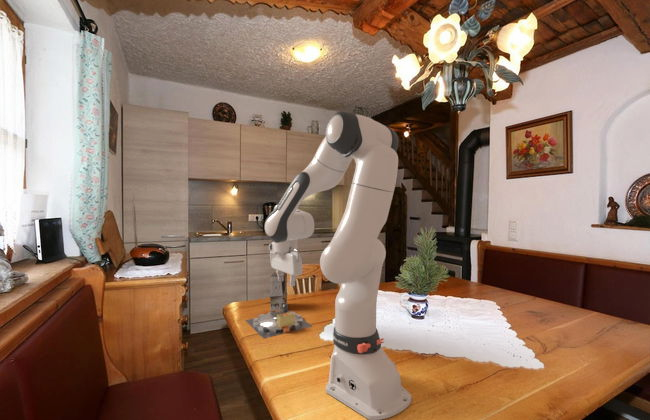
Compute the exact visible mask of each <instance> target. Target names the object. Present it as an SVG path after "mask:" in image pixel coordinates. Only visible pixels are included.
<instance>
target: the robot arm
mask: <svg viewBox="0 0 650 420" xmlns="http://www.w3.org/2000/svg"><path fill="white" fill-rule="evenodd" d="M399 144H400V143H399V136H398V133H397V132H396V131H395V130H394V129H393V128H391V127H389V126H388V125H384V124H382V123H380V122H379V121H376V120H374V119H373V118H371V117H368V116H364V115H361V114H357V113H354V112H352V111H346V110H343V111H342V110H339V111H337V112H335V113H334V114H333V115H332V116H331V117H330V118H329V120H328V121H327V124H326V127H325V137H324V138H323V139H322V141H321V142H320V144H319V145H318V148H317V149H316V152H315V154H314V156H313V158H312V160H311V161H310V162H309V164H308V165H307V166H306V167H305V168H304V169H303V170H302V171H301V172H300V173H298V174H297V175H296V176H295V177H294V178H293V180H291V183H290V184H289V185H288V187H287V189H286V191H285V192H284V194H283V196H282V197H281V198H280V201H279V202H278V203H277V204H276V205H275V206H274V208H273V210H272V211H271V212H270V213H269V214H268V216H267V217H266V219H265V221H264V224H263V226H264V227H263V229H264V234H265V235H266V236H267V238H268V239H269V240H270V241H272V242H271V243H269V245H268V250H269V258H270V260H269V261H270V266H271V268H272V269H274V270H276V271H275V273H277V276H278V281H280V282H281V281H284V277H283V274H282V272H285V273H287V275H288V274H289V280H288V286H289V287H292V288H293V287H295V286H296V280H297V278H298V277H297V276H302V274H303V260H302V256H301V254H300V252H299V250H298V240H304V239H308V238H310V237H312V236H313V234H314V233H315V230H316V220H315V216H314V215H312V213H310V212H307V211H304V210H302V209H299V206H300V205H301V203H302V202H303V201H304V200H305V199H306V198H308V197H310V196H312V195H314V194H318V193H320V192H324V191H329V190H331V189H333V188H335V187H336V186H337V185H338V184H339V183H340V182H341V181H342V179H343V178H344V176H345V174H346V172H347V170H348V168H349V167H350V164H351V162H352V160H354V161H355V170H354V174H353V178H352V182H351V185H350V190H349V193H348V198H347V203H346V205H345V209H344V212H343V215H342V217H341V219H340V222H339V224H338V226H337V228H336V231H335V232H334V235H333V237H332V239H331V240H330V242H329V244H328V245H327V246H326V247H325V248H324V250H322V252H321V254H320V258H319V266H320V270H321V273H322V275H323V276H324V277H325V278H326V279H327V281H329V282H331V283H333V284H337V285H339V284H341V285H340V288H339V290H338V293H337V294H336V297H335V301H334V321H335V323H334V324H335V325H334V327H333V333H332V338H333V344H334V347H333V350H332V353H331V357H330V362H329V374H328V381H327V384H326V386H325V392H326V393H327V394H328V395H329V396H331V397H333V398H335V400H338V401H339V402H341V403H342V404H344V405H345V406H347V407H349V408H350V409H352V410H353V411H355V412H356V413H358V414H360V415H361V416H363V417H364V418H366V419H368V420H385V419H389V418H392V417H394V416H396V415H398V414H399V413H401V412H403V411H405V410H406V409H407V408H408V407H409V406H410V405H411V403H412V394H411V393H410V392H409V391H408V390H406V389H405V388H404V387H403V386H402V379H401V375H400V372H399V370H398V369H397V365H396V363H395V361H393V360H391V359H390V358H389V356H388V354H387V353H386V352H385V351H384V349H383V347H382V344H383V343H385V341H384V340H385V338H380V334H379V330H378V329H377V303H378V302H377V301H378V293H379V289H380V283H381V277H382V269H383V265H384V262H385V259H386V256H387V255H386V254H387V251H386V248H385V245H384V243H383V242H382V241H381V239H379V238H378V237H379V235H380V233H381V231H382V229H383V228H384V225H386V223H387V220H388V216H389V212H390V209H391V205H392V201H393V196H394V192H395V188H396V185H397V184H396V182H397V176H398V170H399V168H398V167H399V156H398V153H397V152H398V149H399Z"/></svg>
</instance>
